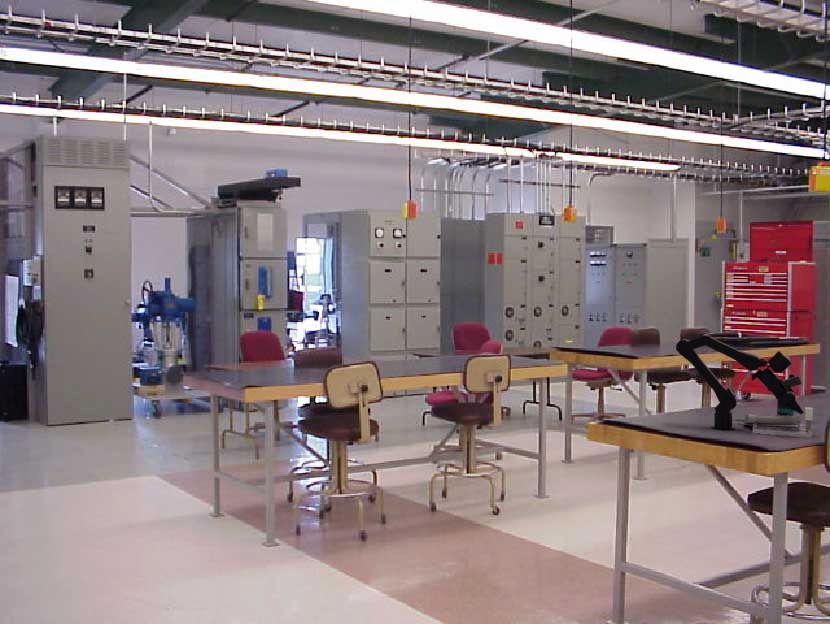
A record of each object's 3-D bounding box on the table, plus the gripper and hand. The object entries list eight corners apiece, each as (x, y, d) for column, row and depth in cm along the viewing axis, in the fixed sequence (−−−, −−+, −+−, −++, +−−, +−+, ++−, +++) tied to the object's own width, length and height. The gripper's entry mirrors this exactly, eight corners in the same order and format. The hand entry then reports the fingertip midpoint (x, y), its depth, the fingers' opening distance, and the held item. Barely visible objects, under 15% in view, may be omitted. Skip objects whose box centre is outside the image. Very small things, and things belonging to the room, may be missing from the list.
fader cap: (804, 430, 314) (805, 408, 314) (804, 428, 318) (805, 407, 318) (812, 431, 313) (812, 409, 313) (811, 429, 317) (812, 407, 317)
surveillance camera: (800, 392, 346) (791, 394, 339) (799, 422, 347) (790, 425, 339) (785, 391, 350) (776, 393, 343) (784, 420, 350) (776, 423, 343)
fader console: (752, 433, 318) (752, 426, 318) (753, 428, 328) (753, 422, 328) (811, 437, 310) (811, 431, 310) (811, 433, 320) (811, 426, 320)
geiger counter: (802, 412, 322) (731, 411, 329) (802, 429, 321) (732, 427, 328) (796, 415, 335) (729, 413, 342) (797, 431, 334) (729, 429, 341)
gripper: (788, 369, 309) (821, 402, 305) (788, 365, 326) (819, 396, 322) (764, 389, 313) (796, 422, 309) (765, 384, 330) (795, 415, 326)
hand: (802, 413), depth 316 cm, fingers closed
